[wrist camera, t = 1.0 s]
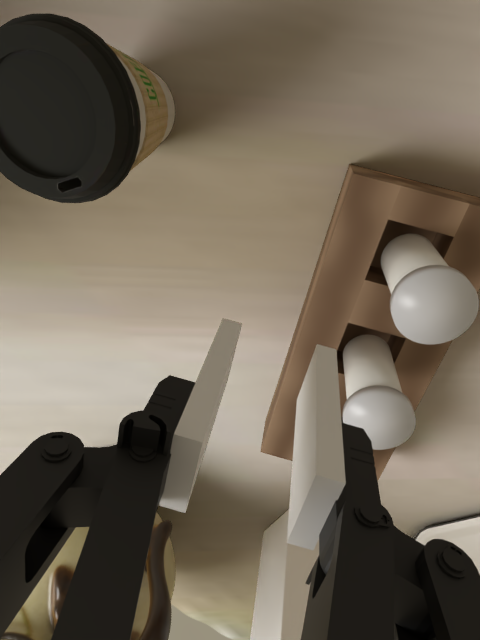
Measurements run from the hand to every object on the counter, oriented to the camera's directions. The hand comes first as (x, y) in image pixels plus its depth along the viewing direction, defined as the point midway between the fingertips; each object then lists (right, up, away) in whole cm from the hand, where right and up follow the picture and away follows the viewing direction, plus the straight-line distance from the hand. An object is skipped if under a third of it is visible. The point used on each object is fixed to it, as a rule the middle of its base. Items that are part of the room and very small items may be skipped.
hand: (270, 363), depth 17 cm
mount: (+11, +1, +26) cm, 28 cm away
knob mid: (+10, -1, +21) cm, 23 cm away
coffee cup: (-10, +19, +20) cm, 29 cm away
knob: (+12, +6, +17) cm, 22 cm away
